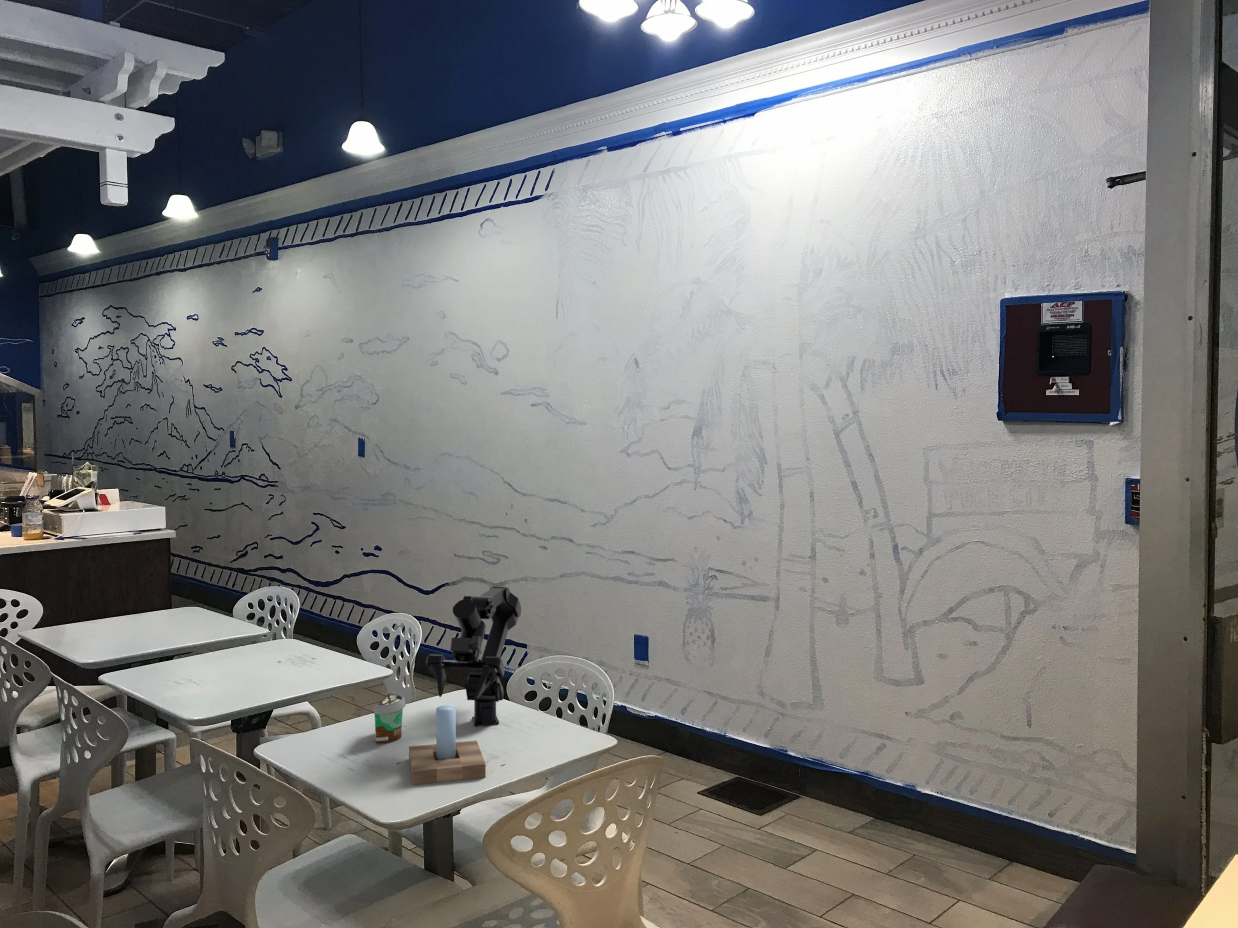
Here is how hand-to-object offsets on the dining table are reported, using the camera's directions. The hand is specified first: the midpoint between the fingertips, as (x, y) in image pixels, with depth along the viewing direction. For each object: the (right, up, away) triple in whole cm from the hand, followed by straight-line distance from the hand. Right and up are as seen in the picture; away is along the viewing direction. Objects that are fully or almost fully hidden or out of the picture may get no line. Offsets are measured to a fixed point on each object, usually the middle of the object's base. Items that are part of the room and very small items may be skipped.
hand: (458, 696), depth 231 cm
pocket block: (-1, -14, -9) cm, 17 cm away
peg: (-1, -14, -9) cm, 17 cm away
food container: (-18, -13, +11) cm, 25 cm away
